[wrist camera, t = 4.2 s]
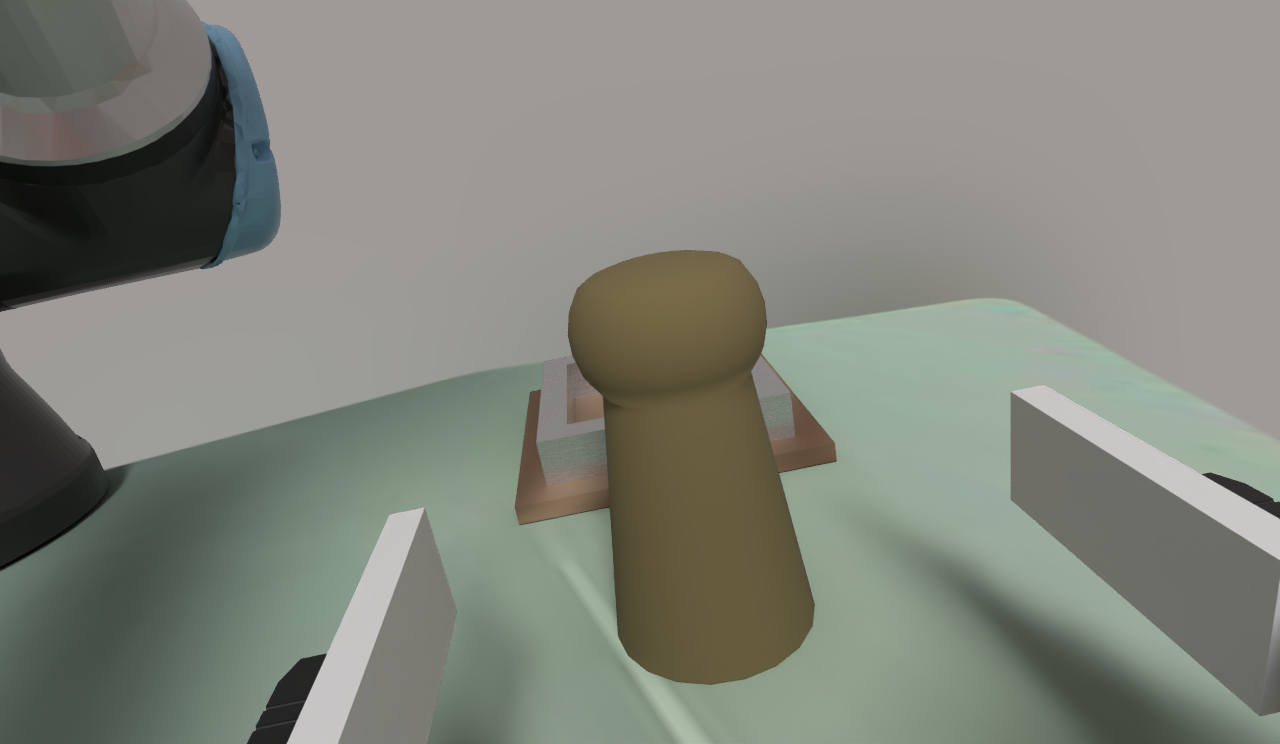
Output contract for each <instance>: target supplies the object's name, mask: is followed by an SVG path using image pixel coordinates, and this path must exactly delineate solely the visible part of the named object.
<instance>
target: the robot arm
mask: <svg viewBox="0 0 1280 744" xmlns="http://www.w3.org/2000/svg"><path fill="white" fill-rule="evenodd" d="M269 146H270V139H269V132H268V125H267V121H266V116H265V113H264V109H263V105H262V102H261V98H260V95H259V91H258V88H257V85H256V82H255V79H254V76H253V73H252V70H251V68H250V65H249V63H248V60H247V58H246V56H245V54H244V51H243V49H242V47H241V45H240V43H239V42H238V40H237V39H236V37H235V36H234V35H233V34H232V33H231V32H230V31H229V30H228V29H226V28H224V27H222V26H219V25H208V24H206V23H204V22H201V20H200V19H199V17H198V16H197V14H196V13H195V11H194V10H193V8H192V7H191V6H190V5H189V3H188V2H187V1H186V0H0V312H1V311H5V310H10V309H15V308H18V307H22V306H27V305H31V304H35V303H40V302H44V301H49V300H53V299H58V298H62V297H66V296H71V295H76V294H80V293H84V292H89V291H94V290H99V289H103V288H107V287H113V286H118V285H122V284H127V283H131V282H136V281H141V280H146V279H151V278H156V277H160V276H165V275H170V274H174V273H179V272H184V271H189V270H194V269H198V268H200V269H207V268H213V267H215V266H218V265H219V264H221V263H222V262H223V261H225V260H229V259H232V258H236V257H239V256H243V255H247V254H250V253H254V252H257V251H259V250H262V249H264V248H265V247H266V246H268V245H269V244H270V243H271V242H272V241H273V239H274V238H275V236H276V234H277V232H278V229H279V225H280V217H281V203H280V191H279V182H278V175H277V169H276V164H275V160H274V156H273V154H272V151H271V150H270V148H269ZM108 486H109V480H108V478H107V476H106V474H105V472H104V470H103V468H102V466H101V463H100V461H99V459H98V457H97V455H96V453H95V451H94V449H93V448H92V446H91V445H90V444H89V443H88V442H87V441H86V440H85V439H83V438H81V437H80V436H78V435H76V434H75V433H74V432H73V431H72V430H71V428H70V427H69V426H68V425H67V424H66V423H65V422H64V421H63V420H62V419H61V417H60V416H59V415H58V414H57V413H56V412H55V411H54V410H53V409H52V408H51V407H50V406H49V405H48V404H47V403H46V402H45V401H44V400H43V399H42V398H41V397H40V396H39V395H38V394H37V393H36V392H35V391H34V390H33V389H32V388H31V387H30V386H29V385H28V384H27V383H26V382H25V381H24V380H23V379H22V378H21V377H20V376H19V375H18V374H17V373H16V372H15V371H14V370H13V369H12V368H11V367H10V365H9V364H8V363H7V361H6V359H5V357H4V355H3V353H2V351H1V349H0V566H2V565H4V564H6V563H8V562H10V561H12V560H14V559H15V558H17V557H19V556H21V555H23V554H25V553H27V552H28V551H30V550H32V549H34V548H35V547H37V546H39V545H41V544H42V543H44V542H45V541H47V540H49V539H50V538H52V537H54V536H55V535H57V534H58V533H60V532H61V531H63V530H64V529H66V528H67V527H69V526H70V525H72V524H73V523H74V522H76V521H77V520H78V519H80V518H81V517H82V516H83V515H85V514H86V513H87V512H88V511H89V510H91V509H92V508H93V507H94V506H95V505H96V504H97V503H98V502H99V501H100V500H101V498H102V497H103V496H104V494H105V493H106V491H107V489H108ZM1011 500H1012V501H1013V502H1014V503H1015V504H1016V505H1018V506H1019V507H1020V508H1021V509H1022V510H1023V511H1025V512H1026V513H1027V514H1028V515H1029V516H1030V517H1031V518H1033V519H1034V520H1035V521H1036V522H1037V523H1038V524H1039V525H1041V526H1042V527H1043V528H1044V529H1045V530H1046V531H1047V532H1049V533H1050V534H1051V535H1052V536H1053V537H1054V538H1056V539H1057V540H1058V541H1059V542H1060V543H1061V544H1062V545H1064V546H1065V547H1066V548H1067V549H1068V550H1069V551H1070V552H1072V553H1073V554H1074V555H1075V556H1076V557H1077V558H1078V559H1080V560H1081V561H1082V562H1083V563H1084V564H1085V565H1087V566H1088V567H1089V568H1090V569H1091V570H1092V571H1093V572H1095V573H1096V574H1097V575H1098V576H1099V577H1100V578H1101V579H1103V580H1104V581H1105V582H1106V583H1107V584H1108V585H1109V586H1111V587H1112V588H1113V589H1114V590H1115V591H1116V592H1118V593H1119V594H1120V595H1121V596H1122V597H1123V598H1124V599H1126V600H1127V601H1128V602H1129V603H1130V604H1131V605H1132V606H1134V607H1135V608H1136V609H1137V610H1138V611H1139V612H1141V613H1142V614H1143V615H1144V616H1145V617H1146V618H1147V619H1149V620H1150V621H1151V622H1152V623H1153V624H1154V625H1155V626H1157V627H1158V628H1159V629H1160V630H1161V631H1162V632H1163V633H1165V634H1166V635H1167V636H1168V637H1169V638H1170V639H1172V640H1173V641H1174V642H1175V643H1176V644H1177V645H1178V646H1180V647H1181V648H1182V649H1183V650H1184V651H1185V652H1186V653H1188V654H1189V655H1190V656H1191V657H1192V658H1193V659H1194V660H1196V661H1197V662H1198V663H1199V664H1200V665H1201V666H1203V667H1204V668H1205V669H1206V670H1207V671H1208V672H1209V673H1211V674H1212V675H1213V676H1214V677H1215V678H1216V679H1217V680H1219V681H1220V682H1221V683H1222V684H1223V685H1224V686H1225V687H1227V688H1228V689H1229V690H1230V691H1231V692H1232V693H1234V694H1235V695H1236V696H1237V697H1238V698H1239V699H1240V700H1242V701H1243V702H1244V703H1245V704H1246V705H1247V706H1248V707H1250V708H1251V709H1252V710H1253V711H1254V712H1255V713H1256V714H1258V715H1259V716H1263V715H1268V714H1273V713H1277V712H1280V502H1274V501H1273V498H1271V497H1269V496H1267V495H1265V494H1264V493H1262V492H1260V491H1258V490H1256V489H1254V488H1253V487H1251V486H1249V485H1247V484H1245V483H1242V482H1239V481H1236V480H1232V479H1229V478H1226V477H1223V476H1220V475H1216V474H1213V473H1206V474H1200V473H1198V472H1196V471H1194V470H1193V469H1191V468H1189V467H1187V466H1186V465H1184V464H1182V463H1180V462H1179V461H1177V460H1175V459H1173V458H1172V457H1170V456H1168V455H1166V454H1164V453H1163V452H1161V451H1159V450H1157V449H1156V448H1154V447H1152V446H1150V445H1149V444H1147V443H1145V442H1143V441H1142V440H1140V439H1138V438H1136V437H1135V436H1133V435H1131V434H1129V433H1128V432H1126V431H1124V430H1122V429H1121V428H1119V427H1117V426H1115V425H1113V424H1112V423H1110V422H1108V421H1106V420H1105V419H1103V418H1101V417H1099V416H1098V415H1096V414H1094V413H1092V412H1091V411H1089V410H1087V409H1085V408H1084V407H1082V406H1080V405H1078V404H1077V403H1075V402H1073V401H1071V400H1070V399H1068V398H1066V397H1064V396H1062V395H1061V394H1059V393H1057V392H1055V391H1054V390H1052V389H1050V388H1048V387H1047V386H1045V385H1042V386H1037V387H1031V388H1026V389H1021V390H1016V391H1011ZM456 614H457V610H456V606H455V603H454V600H453V597H452V594H451V590H450V587H449V584H448V581H447V578H446V574H445V571H444V568H443V565H442V562H441V558H440V555H439V552H438V549H437V545H436V542H435V539H434V536H433V533H432V529H431V526H430V523H429V520H428V517H427V513H426V510H425V508H420V509H415V510H410V511H405V512H400V513H395V514H390V515H389V517H388V519H387V522H386V524H385V526H384V528H383V531H382V533H381V535H380V537H379V540H378V542H377V544H376V546H375V548H374V551H373V553H372V555H371V557H370V560H369V562H368V564H367V566H366V568H365V571H364V573H363V575H362V577H361V580H360V582H359V584H358V586H357V588H356V591H355V593H354V595H353V597H352V600H351V602H350V604H349V606H348V609H347V611H346V613H345V615H344V617H343V620H342V622H341V624H340V626H339V629H338V631H337V633H336V635H335V637H334V640H333V642H332V644H331V646H330V649H329V651H328V653H327V654H322V655H317V656H313V657H308V658H303V659H300V660H299V661H298V662H297V663H296V664H295V665H294V666H293V668H292V669H291V670H290V671H289V672H288V673H287V674H286V675H285V676H284V677H283V678H282V679H281V680H280V681H279V682H278V684H277V686H276V688H275V690H274V692H273V694H272V696H271V698H270V700H269V702H268V704H267V706H266V711H263V713H262V715H261V717H260V719H259V721H258V723H257V725H256V731H253V733H252V735H251V737H250V739H249V741H248V743H247V744H427V742H428V738H429V733H430V729H431V725H432V720H433V716H434V711H435V707H436V702H437V698H438V694H439V689H440V685H441V680H442V676H443V671H444V667H445V663H446V658H447V654H448V649H449V645H450V640H451V636H452V632H453V627H454V623H455V618H456Z"/></svg>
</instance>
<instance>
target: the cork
mask: <svg viewBox="0 0 1280 744" xmlns="http://www.w3.org/2000/svg"><path fill="white" fill-rule="evenodd" d="M568 325H569V326H568V338H569V342H570V347H571V351H572V355H573V358H574V360H575V362H576V364H577V366H578V368H579V370H580V372H581V374H582V376H583V378H584V379H585V380H586V381H587V382H588V383H589V384H590V385H591V386H592V387H593V388H594V389H596V390H597V391H598V392H599V393H600V394H601V395H602V396H603V408H604V423H605V439H606V454H607V470H608V486H609V501H610V517H611V532H612V548H613V563H614V579H615V594H616V610H617V625H618V637H619V639H620V641H621V643H622V645H623V647H624V648H625V650H626V652H627V654H628V656H629V657H631V658H632V659H633V660H634V661H636V662H637V663H638V664H639V665H641V666H642V667H643V668H644V669H646V670H647V671H648V672H651V673H654V674H656V675H659V676H662V677H665V678H668V679H670V680H673V681H676V682H686V683H699V684H716V683H723V682H729V681H735V680H742V679H746V678H749V677H751V676H753V675H756V674H758V673H761V672H763V671H765V670H768V669H770V668H772V667H775V666H777V665H778V664H779V663H781V662H782V661H783V660H784V659H786V658H787V657H788V656H789V655H791V654H792V653H793V652H794V651H796V650H797V649H798V648H799V647H800V646H801V644H802V642H803V641H804V639H805V637H806V636H807V634H808V633H809V631H810V629H811V628H812V626H813V616H814V606H815V604H814V600H813V597H812V593H811V589H810V586H809V582H808V578H807V575H806V571H805V567H804V564H803V560H802V556H801V553H800V549H799V545H798V541H797V538H796V534H795V530H794V527H793V523H792V519H791V516H790V512H789V508H788V505H787V501H786V497H785V494H784V490H783V486H782V483H781V479H780V475H779V472H778V468H777V464H776V461H775V457H774V453H773V450H772V446H771V442H770V439H769V435H768V431H767V428H766V424H765V420H764V417H763V413H762V409H761V406H760V402H759V398H758V395H757V391H756V387H755V384H754V380H753V376H752V373H751V371H752V369H753V368H754V366H755V364H756V362H757V360H758V359H759V357H760V355H761V352H762V349H763V347H764V341H765V334H766V327H767V320H766V309H765V301H764V299H763V296H762V293H761V291H760V288H759V285H758V283H757V281H756V280H755V279H754V277H753V276H752V275H751V274H750V272H749V271H748V270H747V269H746V267H745V266H744V265H743V264H742V262H741V261H740V260H738V259H736V258H734V257H731V256H729V255H726V254H723V253H720V252H712V251H692V250H683V251H669V252H661V253H655V254H649V255H644V256H641V257H636V258H633V259H629V260H626V261H623V262H620V263H618V264H616V265H613V266H610V267H608V268H606V269H603V270H601V271H599V272H597V273H595V274H593V275H592V276H591V277H590V278H588V279H587V280H586V281H585V282H584V283H583V284H582V285H581V286H580V287H578V288H577V291H576V293H575V296H574V299H573V302H572V305H571V307H570V312H569V323H568Z"/></svg>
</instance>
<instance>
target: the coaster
mask: <svg viewBox="0 0 1280 744" xmlns="http://www.w3.org/2000/svg"><path fill="white" fill-rule="evenodd" d="M751 373H752V376H753V380H754V384H755V387H756V391H757V395H758V398H759V402H760V406H761V409H762V413H763V417H764V420H765V424H766V428H767V431H768V435H769V439H770V442H771V446H772V450H773V453H774V457H775V461H776V464H777V468H778V472H784V471H789V470H794V469H798V468H803V467H808V466H813V465H818V464H823V463H828V462H833V461H836V450H835V443H834V442H833V440H832V439H831V438H830V437H829V435H828V434H827V433H826V432H825V431H824V429H823V428H822V427H821V426H820V424H819V423H818V422H817V421H816V420H815V418H814V417H813V416H812V415H811V413H810V412H809V411H808V410H807V409H806V407H805V406H804V405H803V404H802V402H801V401H800V400H799V399H798V398H797V396H796V395H795V394H794V393H793V392H792V390H791V389H790V388H789V387H788V385H787V384H786V383H785V382H784V381H783V379H782V378H781V377H780V376H779V374H778V373H777V372H776V371H775V370H774V368H773V367H772V366H771V365H770V363H769V362H768V361H767V360H766V359H765V357H764V356H763V355H762V354H761V355H760V357H759V359H758V360H757V362H756V364H755V366H754V368H753V369H752V371H751ZM605 507H610V501H609V486H608V470H607V454H606V439H605V423H604V408H603V396H602V395H601V394H600V393H599V392H598V391H597V390H596V389H594V388H593V387H592V386H591V385H590V384H589V383H588V382H587V381H586V380H585V379H584V378H583V376H582V374H581V372H580V370H579V368H578V366H577V364H576V362H575V360H574V358H573V356H569V357H564V358H559V359H554V360H549V361H544V365H543V376H542V387H541V390H538V391H533V392H530V397H529V405H528V412H527V420H526V427H525V435H524V443H523V450H522V458H521V465H520V473H519V480H518V488H517V495H516V503H515V510H516V513H517V517H518V521H519V525H520V524H525V523H530V522H535V521H540V520H545V519H550V518H555V517H560V516H565V515H570V514H575V513H580V512H585V511H590V510H595V509H600V508H605Z"/></svg>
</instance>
